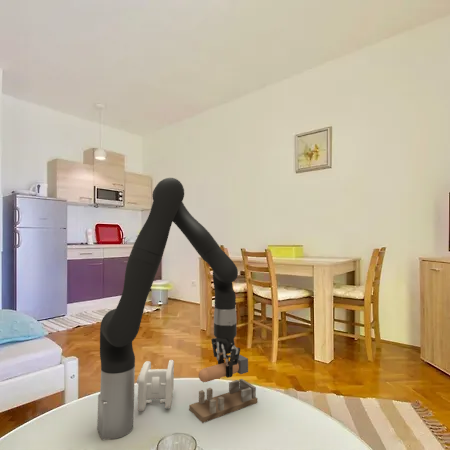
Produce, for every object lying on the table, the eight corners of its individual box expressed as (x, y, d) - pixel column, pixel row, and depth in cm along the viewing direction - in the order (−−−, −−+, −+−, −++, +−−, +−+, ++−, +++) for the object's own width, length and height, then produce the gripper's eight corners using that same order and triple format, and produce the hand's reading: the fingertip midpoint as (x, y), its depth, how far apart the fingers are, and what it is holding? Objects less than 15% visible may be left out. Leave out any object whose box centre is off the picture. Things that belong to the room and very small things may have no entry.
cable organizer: (170, 414, 96) (171, 375, 96) (135, 415, 95) (136, 376, 95) (173, 391, 111) (174, 357, 111) (143, 392, 110) (144, 358, 110)
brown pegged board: (202, 422, 91) (202, 405, 91) (189, 409, 98) (189, 393, 99) (257, 402, 103) (257, 387, 103) (241, 392, 110) (241, 377, 110)
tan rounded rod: (203, 386, 94) (202, 371, 94) (196, 380, 98) (195, 366, 98) (248, 372, 104) (248, 358, 104) (240, 367, 108) (240, 354, 108)
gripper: (204, 318, 106) (204, 369, 105) (228, 328, 94) (228, 385, 94) (222, 315, 110) (222, 364, 109) (247, 324, 99) (247, 379, 98)
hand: (225, 374), depth 102 cm, fingers closed on tan rounded rod, 4 cm apart
